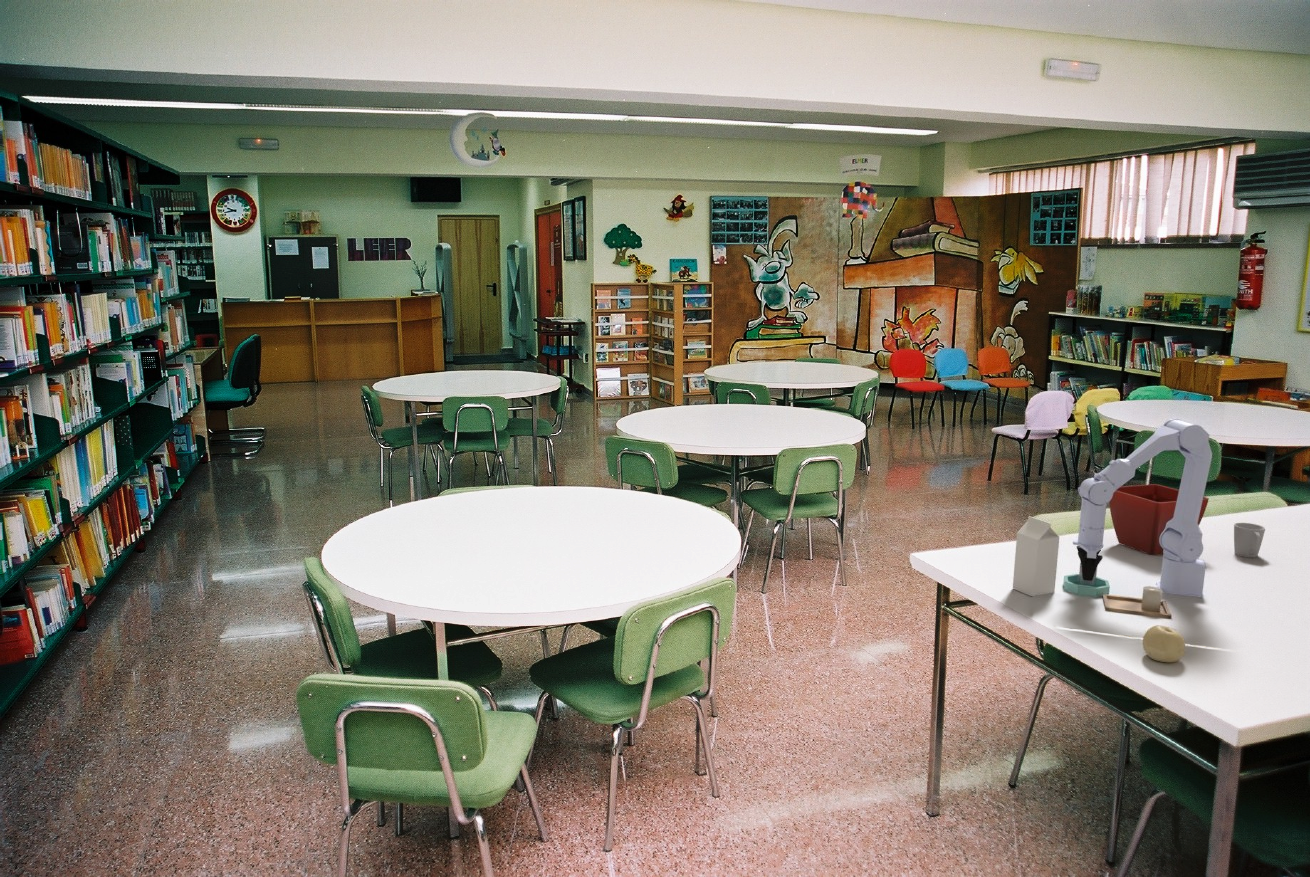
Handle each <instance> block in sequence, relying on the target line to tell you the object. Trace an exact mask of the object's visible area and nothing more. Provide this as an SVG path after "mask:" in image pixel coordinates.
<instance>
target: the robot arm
mask: <svg viewBox="0 0 1310 877" xmlns="http://www.w3.org/2000/svg"><path fill="white" fill-rule="evenodd" d="M1209 440H1210V434H1209V432H1207V431H1206V430H1205V429H1204V428H1203V427H1202V426H1201V425H1198V424H1195V423H1194V424H1193V423H1191V422H1190V423H1189V422H1186V421H1183V420H1181V419H1178V418H1171V419H1168V420H1166V421H1165V422H1164V423H1163V425H1161V426H1159V427H1157V428H1156V430H1155V432H1154V433H1153V434H1152V435H1151V436H1150V437H1149V438H1148V439H1146V440H1145V441H1144V442H1143V443H1141V445H1140V446H1138V447H1137V448H1136V449H1135V450H1134V451H1133V452H1132V453H1130V454H1129V455H1128V456H1127V457H1126V458H1117V459H1115V460H1114V459H1112V460H1110V461H1109V462H1108V464H1109V465H1107V466H1106V467H1105V468H1104V469H1102V470H1101V471H1100V472H1096V473H1095V474H1094V475H1093V477H1091V478H1090V477H1089V478H1087V479H1084V480H1083V481H1081V483H1080V486H1079V487H1077V491H1078V492H1077V493H1078V494H1079V496H1080V498H1081V504H1080V517H1079V526H1078V536H1077V540H1076V539H1073V540H1072V545H1075V546H1076V550H1077V555H1078V558H1079V560H1080V563H1081V566H1082V577H1083V580H1087V581H1092V580H1093V577H1094V574H1095V571H1096V568H1097V569H1098V566H1099V564H1100V563H1101V561H1102V560H1103V555H1100V553H1101V551H1102V549H1103V548H1104V535H1105V534H1104V533H1105V526H1106V514H1107V513H1106V512H1107V505H1108V503H1109V501H1110V500H1111V499H1112V496H1113V493H1114V492H1115V491H1116V490H1117V489H1118V488H1120V487H1123V485H1125V484H1126V483H1127V482H1128V481H1130V480H1131V479H1132V478H1134V477H1135V474H1136V470H1137V469H1138V468H1139V467H1141V466H1142V465H1144V464H1145V463H1147V462H1148V461H1150V460H1151V459H1153V458H1154V457H1155V456H1157V455H1159V454H1160V453H1161V452H1163V451H1179V452H1180V453H1181V455H1183V457H1184V458H1185V460H1184V461H1185V462H1184V465H1183V471H1182V475H1181V480H1180V484H1179V489H1178V490H1179V493H1178V498H1177V503H1176V507H1175V512H1174V517H1173V519H1171V520H1170V521H1168V522H1167V523H1166V527H1165V529H1164V531H1163V532H1162V533H1161V535H1160V538H1159V543H1160V545H1161V547H1162V548H1163V554H1162V564H1161V571H1160V572H1161V573H1160V581H1156V584H1155V585H1156V586H1157V588H1160V589H1161V590H1162V594H1170V595H1180V596H1181V595H1182V596H1189V597H1198V598H1203V597H1204V596H1203V592H1204V591H1203V590H1204V585H1205V584H1204V583H1205V578H1206V577H1205V576H1206V565H1205V564H1206V563H1205V561H1204V560H1203V559H1199V558H1200V557H1201V556H1202V554H1203V551H1204V544H1203V532H1202V530H1201V528H1200V525H1199V526H1198V519H1199V514H1200V510H1201V505H1202V500H1203V497H1205V490H1206V486H1207V483H1208V477H1209V472H1210V468H1211V463H1212V460H1213V451H1212V449H1211V446H1210V442H1209Z"/></svg>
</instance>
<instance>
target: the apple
mask: <svg viewBox="0 0 1310 877" xmlns="http://www.w3.org/2000/svg"><path fill="white" fill-rule="evenodd" d="M1142 638H1143V639H1142V648H1143V650H1144V652H1145V654H1146V655H1147V656H1148V658H1150V659H1152V660H1154V661H1157V662H1162V663H1174V662H1177V661H1179V660H1181V658H1182V657H1183V656H1184V654H1185V652H1186V642H1185V639H1184V636H1183V635H1182V634H1181V632H1179V631H1178V630H1175V629H1174V628H1171V627H1169V626H1165V625H1161V624H1160V625H1159V624H1156V625H1154V626H1152V627H1150V628H1148V629H1147V630H1146V631H1145V633H1144V635H1143V637H1142Z"/></svg>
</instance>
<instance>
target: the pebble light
mask: <svg viewBox="0 0 1310 877" xmlns="http://www.w3.org/2000/svg"><path fill="white" fill-rule="evenodd" d="M1162 595H1163V593H1162V590H1161V589H1160V588H1158V586H1157V587H1155V586H1150V585H1149V586H1143V588H1142V596H1141V598H1142V605H1141V608H1142V609H1143V610H1146V611H1150V612H1159V611H1160V606H1161V601H1162Z"/></svg>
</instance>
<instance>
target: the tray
mask: <svg viewBox="0 0 1310 877" xmlns="http://www.w3.org/2000/svg"><path fill="white" fill-rule="evenodd" d="M1101 598H1102V600H1103V601H1102V602H1103V605H1104V610H1105V611H1109V612H1116V613H1125V614H1133V615H1141V616H1147V617H1154V618H1155V617H1156V618H1164V619H1172V613H1171V610H1170V609H1169V605H1168V603H1167V602H1166V601H1165V600H1161V606H1160V611H1159V612H1150V611H1146V610H1143V609H1142V608H1141V605H1142V597H1140V598H1139V597H1131V596H1124V595H1123V596H1122V595H1117V594H1116V595H1115V594H1109V595H1108V594H1102V596H1101Z"/></svg>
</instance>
